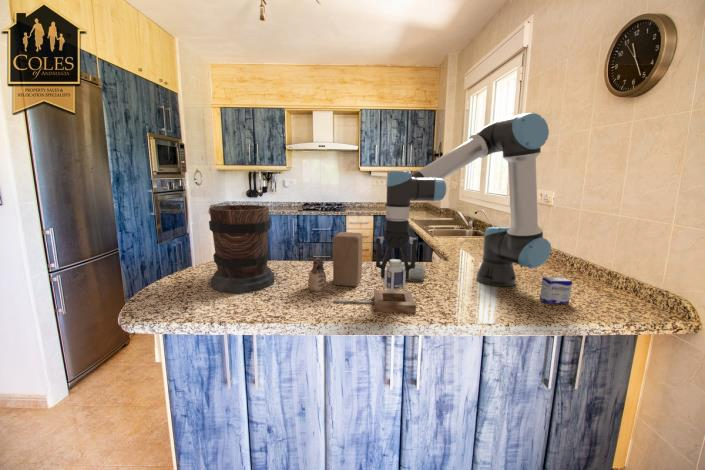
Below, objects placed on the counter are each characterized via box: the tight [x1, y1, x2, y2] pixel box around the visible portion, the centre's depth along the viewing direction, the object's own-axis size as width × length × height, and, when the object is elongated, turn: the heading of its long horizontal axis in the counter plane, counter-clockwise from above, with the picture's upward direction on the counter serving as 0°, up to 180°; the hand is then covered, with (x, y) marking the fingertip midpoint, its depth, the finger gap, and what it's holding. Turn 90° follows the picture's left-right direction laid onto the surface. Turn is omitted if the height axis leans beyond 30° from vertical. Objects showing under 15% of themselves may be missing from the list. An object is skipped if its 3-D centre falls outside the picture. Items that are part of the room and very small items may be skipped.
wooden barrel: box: [208, 204, 275, 294], centre depth 130 cm, size 24×30×30 cm
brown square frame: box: [333, 289, 417, 314], centre depth 111 cm, size 27×13×2 cm, turn 87°
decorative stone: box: [401, 262, 426, 282], centre depth 139 cm, size 13×10×6 cm
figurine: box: [307, 257, 328, 293], centre depth 123 cm, size 7×7×12 cm
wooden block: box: [332, 231, 363, 288], centre depth 130 cm, size 10×10×20 cm
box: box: [539, 276, 573, 305], centre depth 114 cm, size 8×4×9 cm, turn 94°
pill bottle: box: [386, 258, 403, 291], centre depth 108 cm, size 5×5×10 cm
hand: (394, 287), depth 109 cm, fingers closed on pill bottle, 5 cm apart
